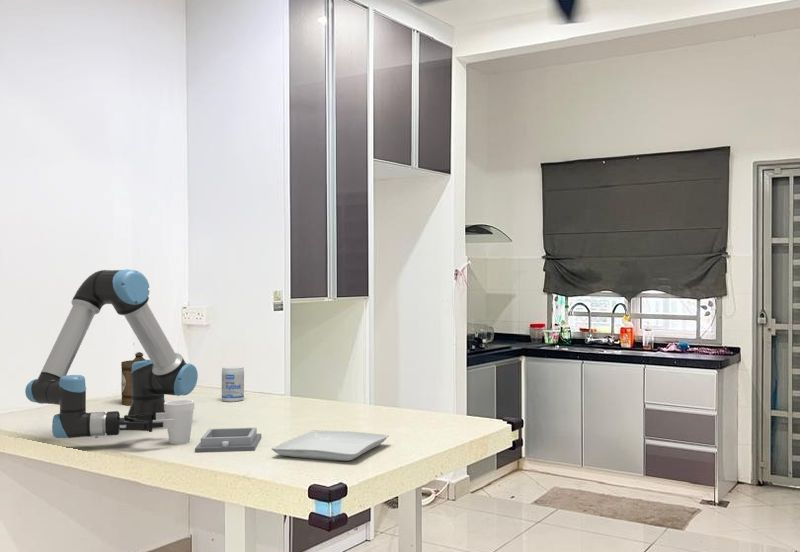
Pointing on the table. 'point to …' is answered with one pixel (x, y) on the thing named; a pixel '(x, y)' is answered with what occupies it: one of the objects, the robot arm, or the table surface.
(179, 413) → the foam cup
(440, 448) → the table surface
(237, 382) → the supplement tub
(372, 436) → the square plate
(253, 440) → the tray
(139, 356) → the wooden container
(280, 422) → the table surface
